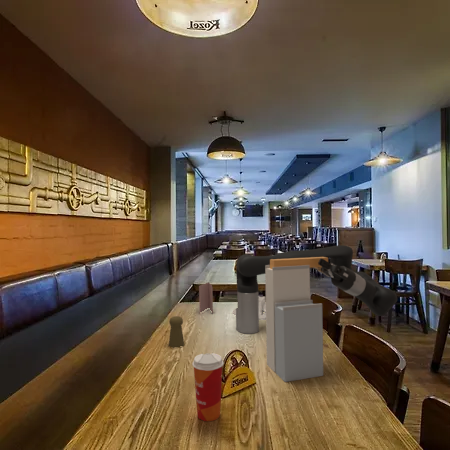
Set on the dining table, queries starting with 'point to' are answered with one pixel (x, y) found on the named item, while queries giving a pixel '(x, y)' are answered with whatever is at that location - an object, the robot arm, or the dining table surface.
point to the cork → (176, 332)
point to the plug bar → (296, 262)
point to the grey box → (298, 340)
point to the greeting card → (205, 297)
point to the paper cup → (208, 385)
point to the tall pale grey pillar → (283, 298)
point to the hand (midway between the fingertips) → (312, 259)
